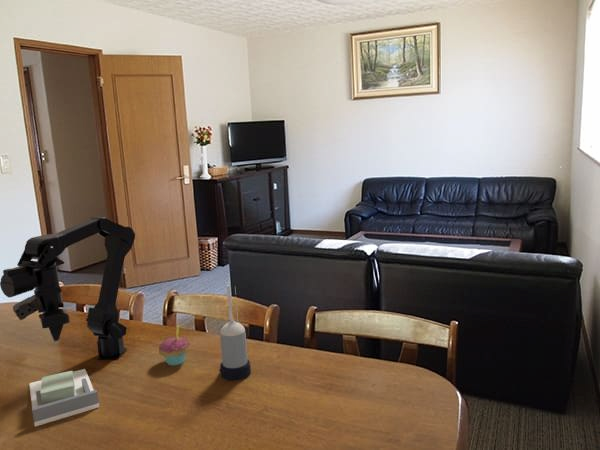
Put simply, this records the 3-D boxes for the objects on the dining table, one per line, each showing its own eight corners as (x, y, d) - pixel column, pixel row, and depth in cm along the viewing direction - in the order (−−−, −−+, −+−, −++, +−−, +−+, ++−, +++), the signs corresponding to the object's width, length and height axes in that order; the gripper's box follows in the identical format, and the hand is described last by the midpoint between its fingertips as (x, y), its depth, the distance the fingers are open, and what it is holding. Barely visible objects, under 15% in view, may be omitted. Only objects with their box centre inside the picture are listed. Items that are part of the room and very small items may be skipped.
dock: (29, 386, 134) (27, 369, 134) (85, 372, 141) (83, 355, 140) (35, 430, 114) (32, 410, 113) (99, 410, 121) (97, 392, 120)
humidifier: (217, 370, 137) (210, 283, 132) (246, 364, 140) (240, 278, 135) (223, 383, 130) (216, 292, 125) (254, 376, 132) (248, 287, 127)
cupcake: (194, 355, 147) (190, 316, 144) (185, 369, 138) (181, 328, 136) (166, 355, 148) (162, 317, 145) (155, 368, 139) (151, 328, 137)
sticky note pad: (44, 394, 126) (42, 377, 125) (74, 387, 129) (72, 370, 128) (43, 411, 118) (40, 393, 117) (75, 403, 121) (73, 386, 120)
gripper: (10, 282, 133) (19, 336, 137) (14, 301, 118) (24, 362, 121) (55, 274, 139) (63, 326, 142) (65, 291, 124) (74, 349, 127)
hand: (56, 340), depth 133 cm, fingers closed
